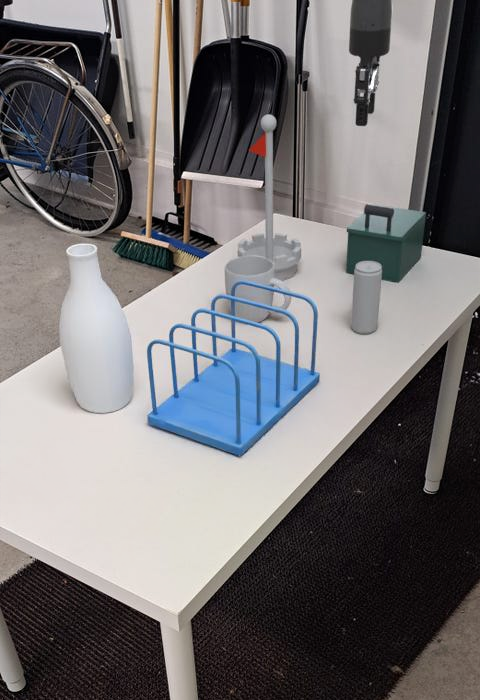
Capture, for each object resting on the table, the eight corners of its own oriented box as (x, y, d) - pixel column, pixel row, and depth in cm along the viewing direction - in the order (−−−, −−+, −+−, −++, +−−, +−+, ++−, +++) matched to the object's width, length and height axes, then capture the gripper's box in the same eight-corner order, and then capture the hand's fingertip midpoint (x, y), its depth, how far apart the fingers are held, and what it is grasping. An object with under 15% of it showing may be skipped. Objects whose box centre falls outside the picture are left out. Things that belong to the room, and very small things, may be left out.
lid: (401, 241, 164) (403, 214, 161) (346, 232, 168) (347, 205, 165) (425, 216, 173) (428, 190, 170) (373, 207, 178) (374, 182, 174)
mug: (218, 321, 160) (216, 270, 153) (239, 302, 166) (238, 252, 159) (280, 334, 155) (280, 282, 149) (299, 314, 161) (300, 263, 155)
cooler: (398, 282, 170) (402, 240, 165) (345, 272, 174) (348, 230, 169) (421, 257, 179) (425, 216, 173) (370, 248, 183) (373, 208, 178)
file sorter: (240, 458, 127) (237, 367, 117) (147, 426, 134) (136, 338, 124) (320, 381, 143) (323, 295, 132) (232, 356, 150) (229, 273, 140)
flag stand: (269, 252, 183) (268, 100, 164) (314, 269, 176) (318, 113, 156) (225, 271, 177) (218, 115, 157) (269, 290, 169) (268, 129, 150)
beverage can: (377, 323, 158) (382, 260, 150) (377, 335, 154) (382, 272, 146) (350, 322, 158) (354, 260, 150) (350, 335, 155) (354, 271, 147)
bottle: (111, 425, 135) (87, 271, 118) (56, 406, 139) (26, 256, 123) (152, 392, 142) (135, 242, 125) (99, 375, 146) (76, 229, 130)
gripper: (385, 33, 150) (378, 131, 161) (396, 17, 161) (389, 110, 171) (343, 32, 152) (339, 129, 163) (356, 16, 162) (352, 108, 173)
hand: (364, 119), depth 167 cm, fingers open, 8 cm apart
